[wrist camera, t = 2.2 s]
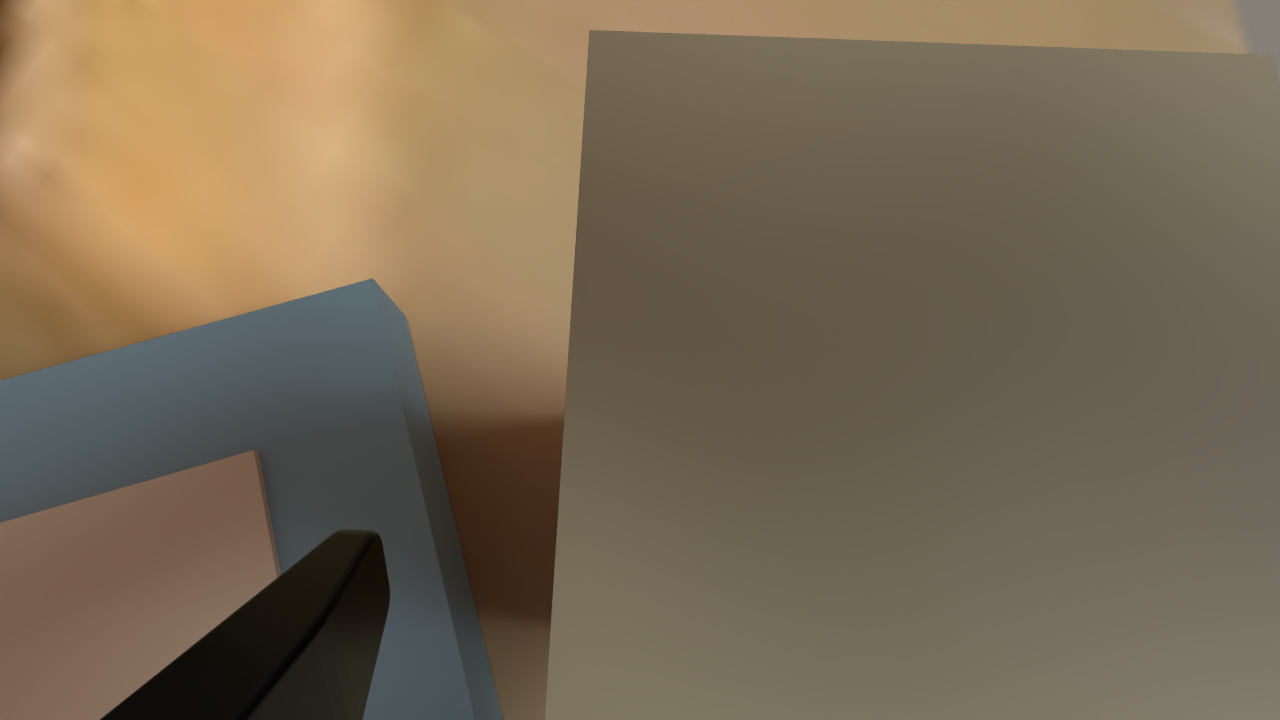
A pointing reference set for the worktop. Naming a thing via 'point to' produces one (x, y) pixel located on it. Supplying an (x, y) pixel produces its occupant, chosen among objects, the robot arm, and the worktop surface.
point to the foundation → (226, 504)
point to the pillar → (921, 384)
